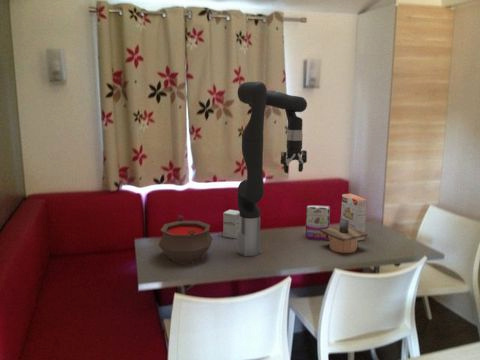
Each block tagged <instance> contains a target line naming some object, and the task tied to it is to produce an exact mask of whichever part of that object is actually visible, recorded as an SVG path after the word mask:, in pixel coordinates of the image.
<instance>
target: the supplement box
mask: <svg viewBox="0 0 480 360" xmlns="http://www.w3.org/2000/svg"><path fill="white" fill-rule="evenodd" d="M222 214H223V215H222V216H223V222H222V223H223V225H222V226H223V227H222V231H223V232H222V236H223V237H225V238H232V239H238V232H239V231H240V212H239V210H235V209H228V210H225V211H224V212H223V213H222Z"/></svg>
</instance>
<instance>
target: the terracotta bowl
mask: <svg viewBox="0 0 480 360" xmlns="http://www.w3.org/2000/svg"><path fill="white" fill-rule="evenodd" d="M329 249H330V250H331V251H334V252H335V253H341V254H342V253H343V254H351V253H354V252H356V251H357V249H358V241H357V238H356V239H351V240H347V241H341V240H339V239H336V238H334V237H331V236H329Z"/></svg>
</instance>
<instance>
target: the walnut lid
mask: <svg viewBox="0 0 480 360" xmlns="http://www.w3.org/2000/svg"><path fill="white" fill-rule="evenodd" d="M320 232H322V233H324V234H327V235H329V237H330V236H331V237H334V238H336V239H339V240H341V241H347V240H351V239H356V238H360V237H365V238H366V237H367V236H368V233H366V232H365V233H364V232H361V231H358V230H356V229H353V228H350V227H349V220H346V219H341V218H340V219H339V226H334V227H333V226H332V227H329V228H327V229H322V230H321V231H320Z"/></svg>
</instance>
